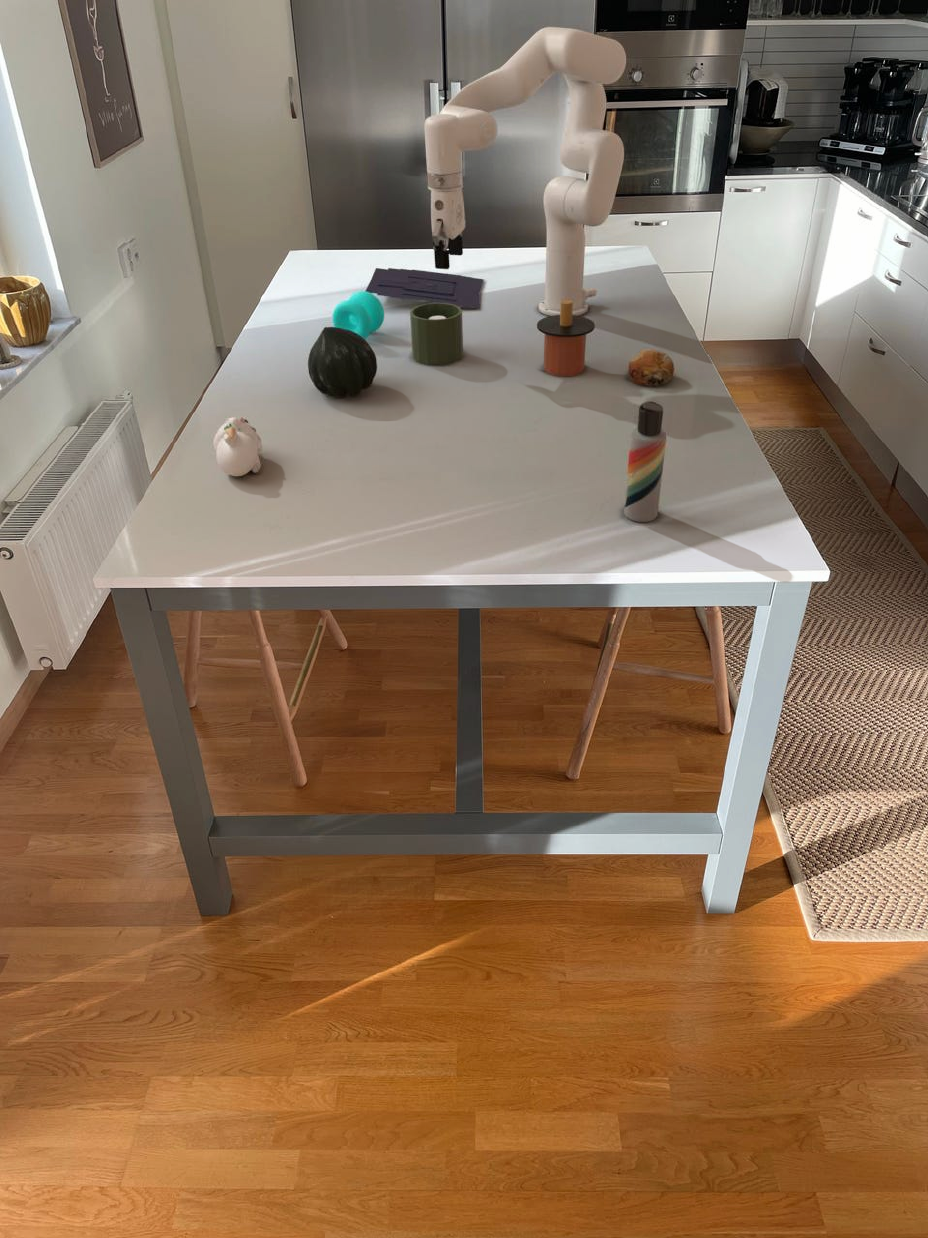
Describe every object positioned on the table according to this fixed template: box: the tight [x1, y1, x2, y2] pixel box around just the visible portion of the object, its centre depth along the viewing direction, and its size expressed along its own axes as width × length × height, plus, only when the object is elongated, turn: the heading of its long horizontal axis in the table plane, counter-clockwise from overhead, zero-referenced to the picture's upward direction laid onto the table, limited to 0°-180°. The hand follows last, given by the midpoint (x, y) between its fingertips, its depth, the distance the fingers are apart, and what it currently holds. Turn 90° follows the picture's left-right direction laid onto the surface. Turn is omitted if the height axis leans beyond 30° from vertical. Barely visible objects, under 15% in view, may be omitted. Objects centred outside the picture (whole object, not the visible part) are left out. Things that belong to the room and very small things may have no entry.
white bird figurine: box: [213, 416, 263, 477], centre depth 178 cm, size 10×8×15 cm
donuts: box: [332, 290, 385, 340], centre depth 231 cm, size 10×10×10 cm
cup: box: [543, 334, 587, 377], centre depth 212 cm, size 9×9×9 cm
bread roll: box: [628, 348, 675, 387], centre depth 208 cm, size 10×10×8 cm
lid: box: [536, 300, 596, 337], centre depth 208 cm, size 13×13×6 cm
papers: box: [365, 267, 485, 309], centre depth 257 cm, size 24×30×4 cm
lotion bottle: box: [623, 401, 667, 523], centre depth 157 cm, size 6×6×20 cm
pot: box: [409, 302, 464, 367], centre depth 219 cm, size 12×12×10 cm
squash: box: [307, 326, 378, 399], centre depth 204 cm, size 14×15×15 cm
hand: (449, 261), depth 215 cm, fingers open, 9 cm apart
